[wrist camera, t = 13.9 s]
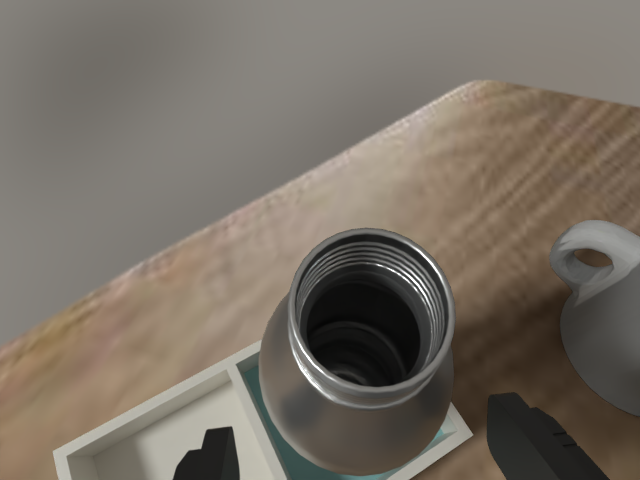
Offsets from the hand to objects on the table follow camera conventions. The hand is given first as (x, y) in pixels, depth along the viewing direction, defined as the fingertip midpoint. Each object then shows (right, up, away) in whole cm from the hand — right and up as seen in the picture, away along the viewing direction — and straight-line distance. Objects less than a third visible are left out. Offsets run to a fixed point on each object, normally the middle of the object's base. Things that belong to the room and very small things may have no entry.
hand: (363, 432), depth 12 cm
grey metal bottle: (0, -5, +14) cm, 15 cm away
